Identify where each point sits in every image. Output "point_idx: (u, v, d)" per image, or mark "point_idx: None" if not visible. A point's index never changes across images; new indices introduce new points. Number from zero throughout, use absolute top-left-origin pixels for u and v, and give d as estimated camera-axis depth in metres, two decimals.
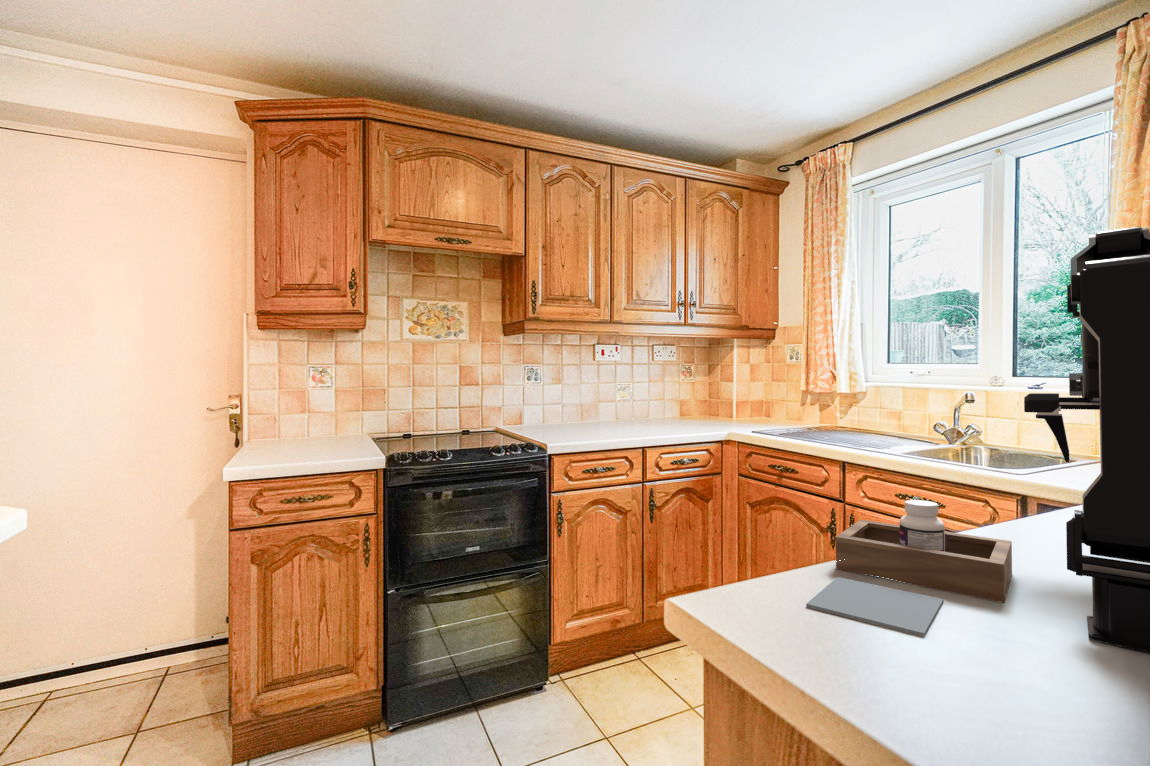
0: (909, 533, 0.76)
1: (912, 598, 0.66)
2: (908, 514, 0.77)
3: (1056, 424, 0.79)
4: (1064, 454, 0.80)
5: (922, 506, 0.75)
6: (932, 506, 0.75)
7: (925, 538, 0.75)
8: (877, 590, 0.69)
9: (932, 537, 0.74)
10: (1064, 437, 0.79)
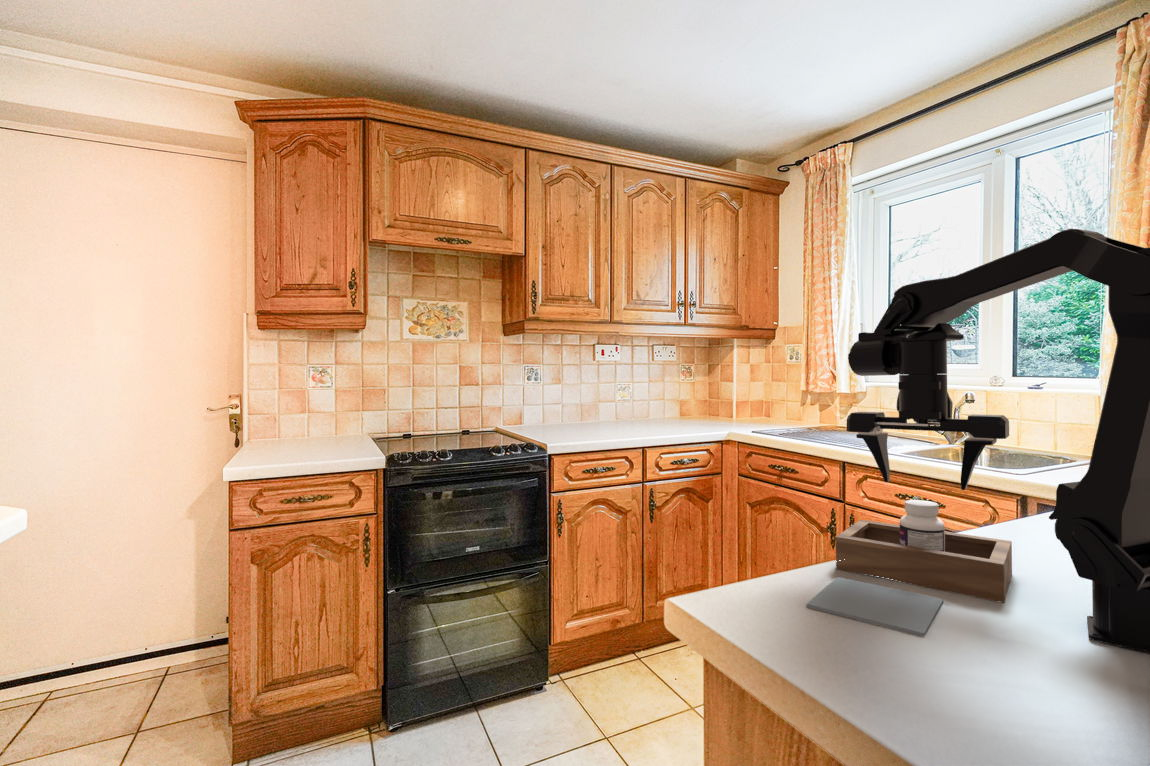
0: (909, 533, 0.76)
1: (912, 598, 0.66)
2: (908, 514, 0.77)
3: (873, 444, 0.79)
4: (882, 474, 0.80)
5: (922, 506, 0.75)
6: (932, 506, 0.75)
7: (925, 538, 0.75)
8: (877, 590, 0.69)
9: (932, 537, 0.74)
10: (881, 457, 0.79)
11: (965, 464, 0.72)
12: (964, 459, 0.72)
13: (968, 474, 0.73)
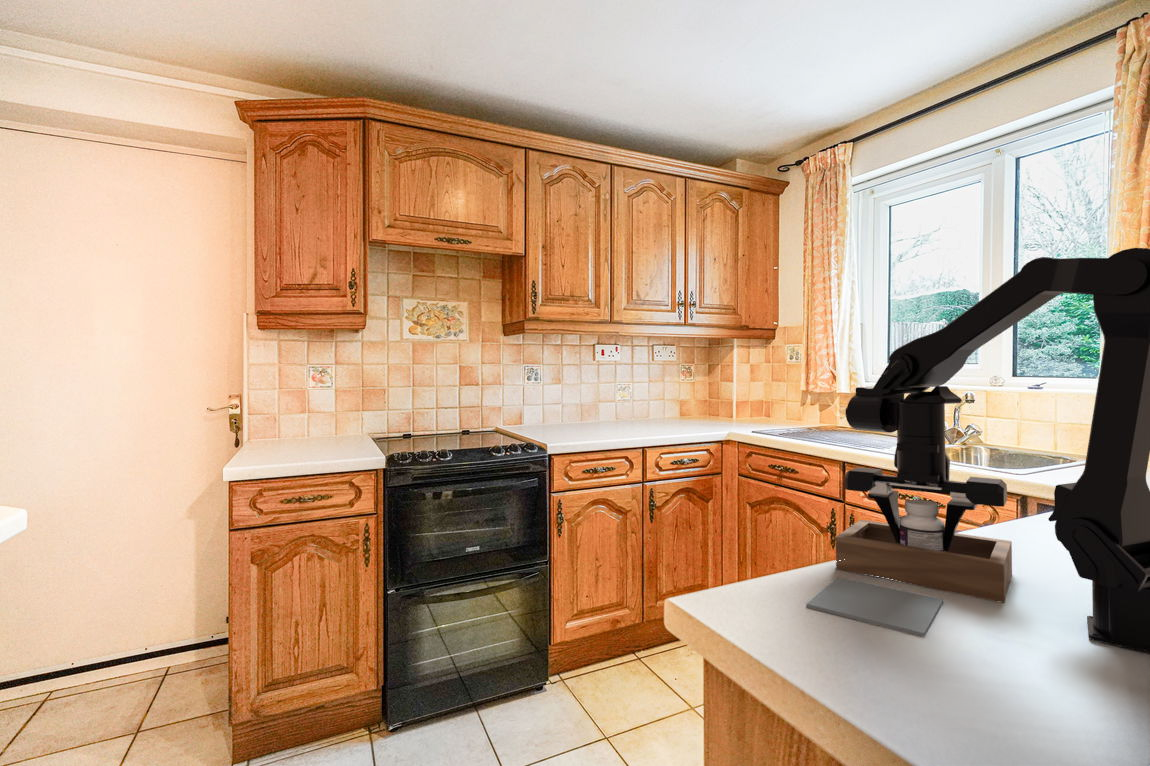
0: (909, 533, 0.76)
1: (912, 598, 0.66)
2: (908, 514, 0.77)
3: (885, 505, 0.78)
4: (894, 535, 0.78)
5: (922, 506, 0.75)
6: (932, 506, 0.75)
7: (925, 538, 0.75)
8: (877, 590, 0.69)
9: (932, 537, 0.74)
10: (893, 518, 0.78)
11: (948, 527, 0.73)
12: (947, 522, 0.73)
13: (951, 536, 0.74)
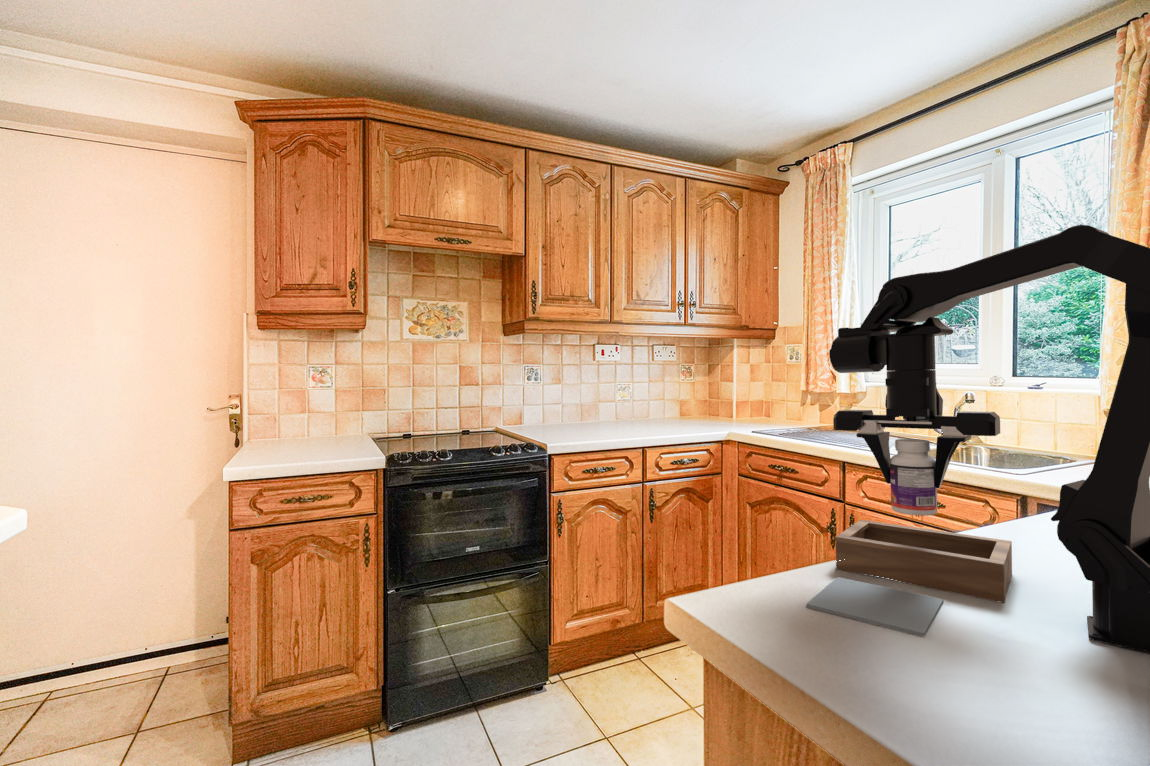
0: (899, 471, 0.74)
1: (912, 598, 0.66)
2: (898, 452, 0.75)
3: (874, 443, 0.76)
4: (884, 475, 0.76)
5: (912, 442, 0.73)
6: (923, 442, 0.73)
7: (915, 475, 0.72)
8: (877, 590, 0.69)
9: (923, 473, 0.72)
10: (882, 457, 0.75)
11: (938, 462, 0.71)
12: (937, 456, 0.71)
13: (942, 472, 0.71)
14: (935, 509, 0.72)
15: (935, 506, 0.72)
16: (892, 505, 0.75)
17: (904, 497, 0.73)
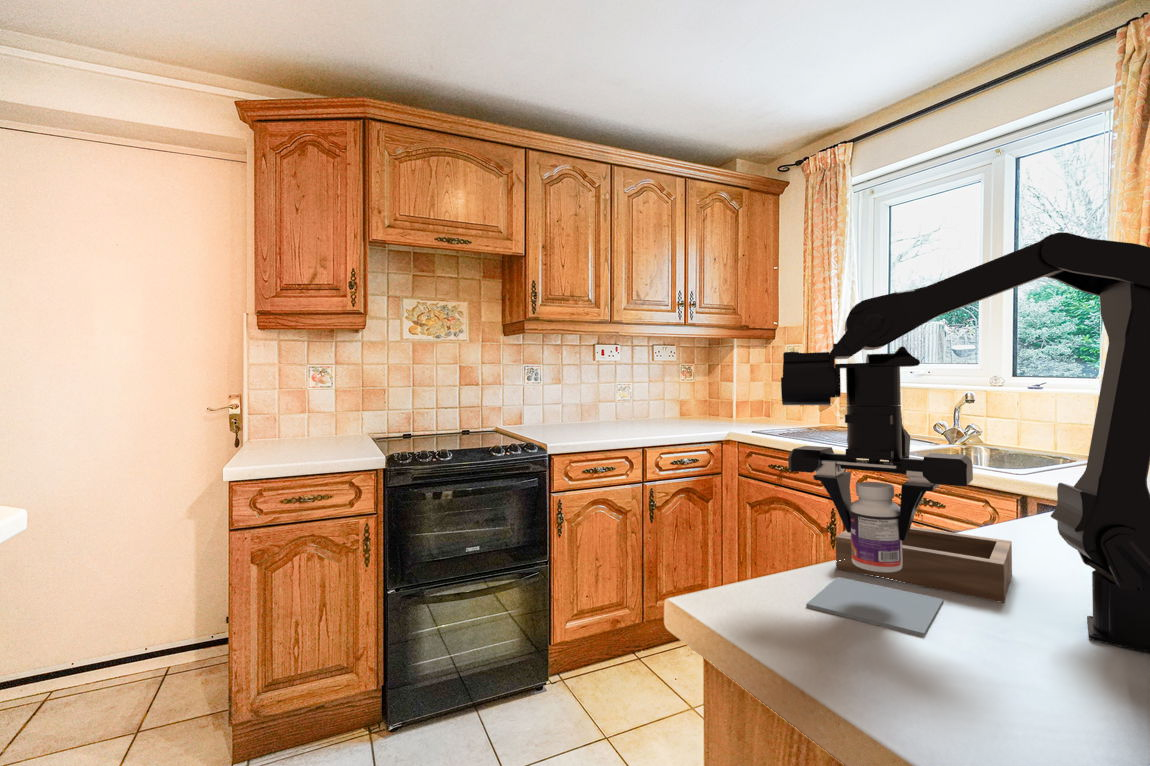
0: (859, 520, 0.65)
1: (912, 598, 0.66)
2: (859, 498, 0.66)
3: (832, 488, 0.66)
4: (844, 523, 0.67)
5: (874, 488, 0.64)
6: (886, 488, 0.64)
7: (877, 526, 0.63)
8: (877, 590, 0.69)
9: (886, 524, 0.63)
10: (842, 503, 0.66)
11: (903, 512, 0.62)
12: (902, 506, 0.62)
13: (907, 523, 0.62)
14: (900, 565, 0.63)
15: (900, 562, 0.64)
16: (852, 558, 0.66)
17: (864, 551, 0.64)
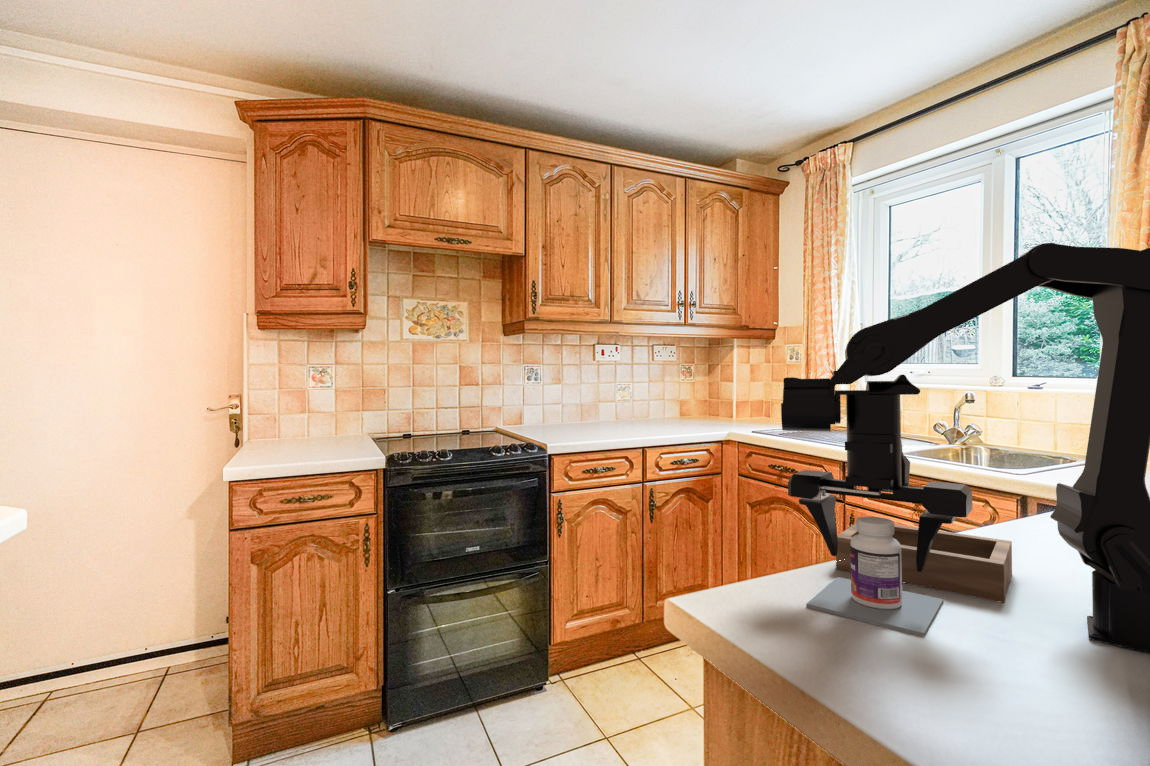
0: (859, 557, 0.65)
1: (912, 598, 0.66)
2: (859, 534, 0.66)
3: (817, 512, 0.68)
4: (829, 547, 0.68)
5: (874, 525, 0.64)
6: (886, 525, 0.64)
7: (877, 563, 0.63)
8: None
9: (885, 562, 0.63)
10: (826, 528, 0.68)
11: (921, 543, 0.61)
12: (919, 537, 0.61)
13: (924, 555, 0.61)
14: (899, 602, 0.63)
15: (900, 599, 0.64)
16: (852, 593, 0.66)
17: (864, 587, 0.64)
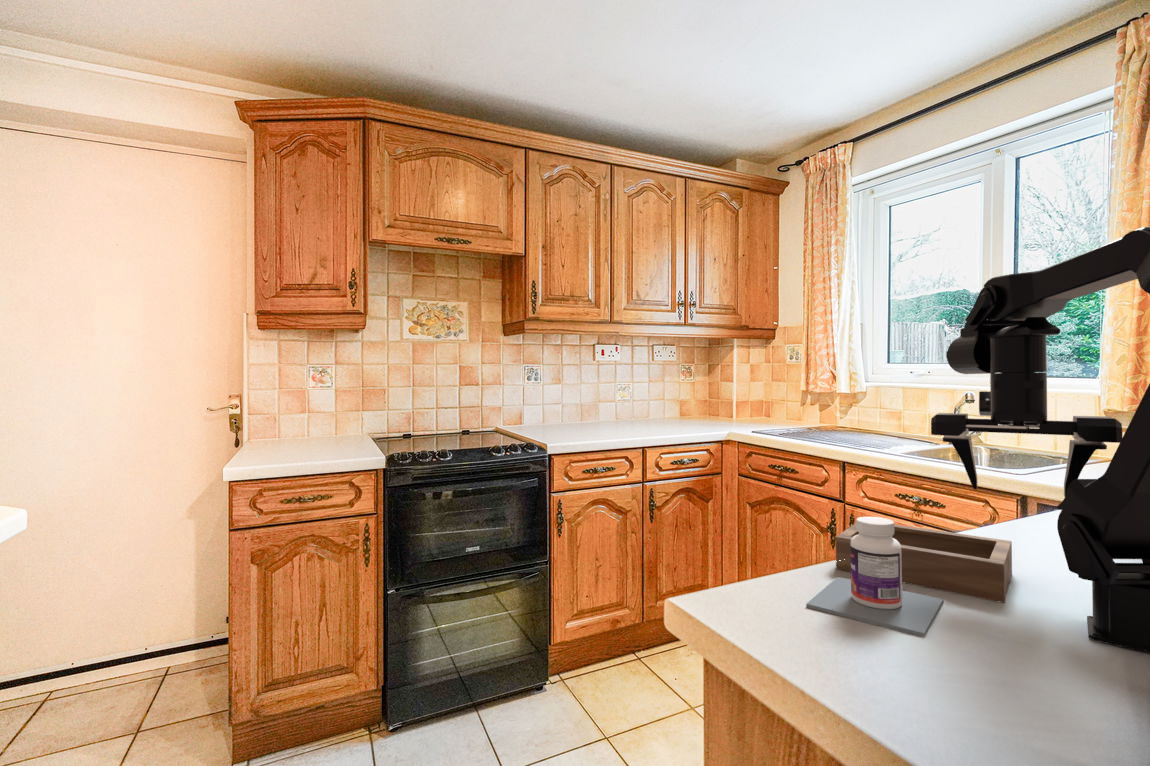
0: (859, 557, 0.65)
1: (912, 598, 0.66)
2: (859, 534, 0.66)
3: (963, 448, 0.73)
4: (971, 481, 0.74)
5: (874, 525, 0.64)
6: (886, 525, 0.64)
7: (877, 563, 0.63)
8: None
9: (885, 562, 0.63)
10: (971, 462, 0.73)
11: (1072, 470, 0.67)
12: (1072, 465, 0.67)
13: None
14: (899, 602, 0.63)
15: (900, 599, 0.64)
16: (852, 593, 0.66)
17: (864, 587, 0.64)
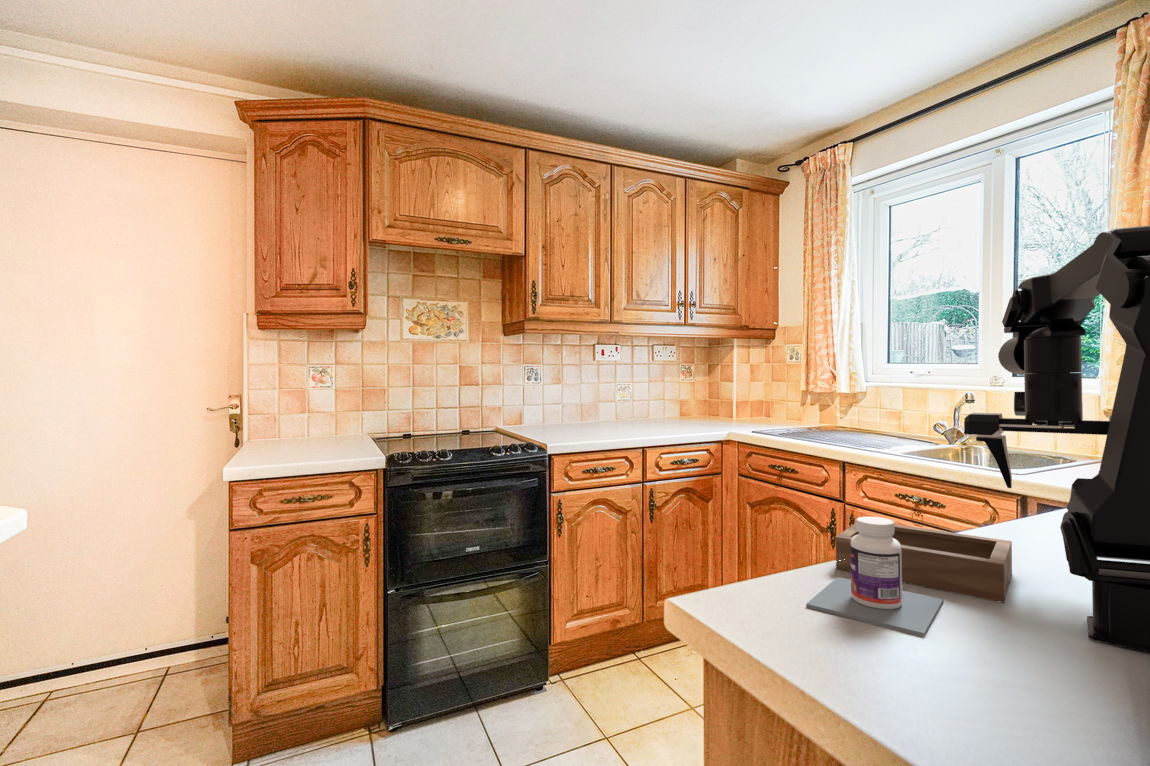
0: (859, 557, 0.65)
1: (912, 598, 0.66)
2: (859, 534, 0.66)
3: (996, 447, 0.74)
4: (1005, 479, 0.75)
5: (874, 525, 0.64)
6: (886, 525, 0.64)
7: (877, 563, 0.63)
8: None
9: (885, 562, 0.63)
10: (1005, 461, 0.74)
11: None
12: None
13: None
14: (899, 602, 0.63)
15: (900, 599, 0.64)
16: (852, 593, 0.66)
17: (864, 587, 0.64)
